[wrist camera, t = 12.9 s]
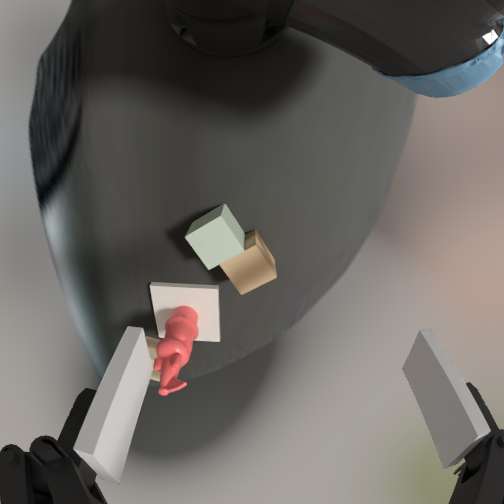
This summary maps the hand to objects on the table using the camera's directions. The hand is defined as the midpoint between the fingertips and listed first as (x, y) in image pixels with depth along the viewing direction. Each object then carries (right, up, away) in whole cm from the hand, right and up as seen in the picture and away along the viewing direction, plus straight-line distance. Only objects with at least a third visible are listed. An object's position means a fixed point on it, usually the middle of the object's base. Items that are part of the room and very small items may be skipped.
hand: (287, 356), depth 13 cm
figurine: (-11, -5, +31) cm, 33 cm away
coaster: (-12, -4, +32) cm, 34 cm away
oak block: (-2, +5, +28) cm, 28 cm away
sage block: (-6, +8, +26) cm, 28 cm away
